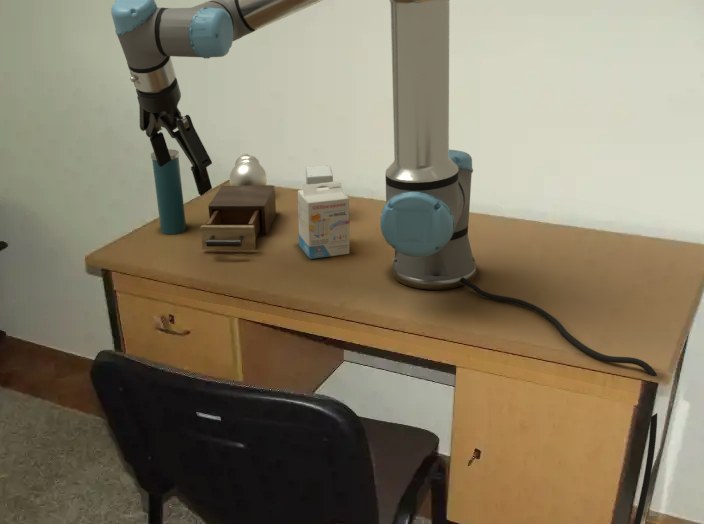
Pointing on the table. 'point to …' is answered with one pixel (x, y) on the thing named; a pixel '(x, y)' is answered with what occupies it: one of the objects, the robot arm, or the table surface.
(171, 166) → the dark teal cylinder
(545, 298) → the table surface
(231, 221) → the drawer
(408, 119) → the robot arm
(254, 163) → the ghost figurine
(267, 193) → the cabinet
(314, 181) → the small box
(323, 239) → the ink box
